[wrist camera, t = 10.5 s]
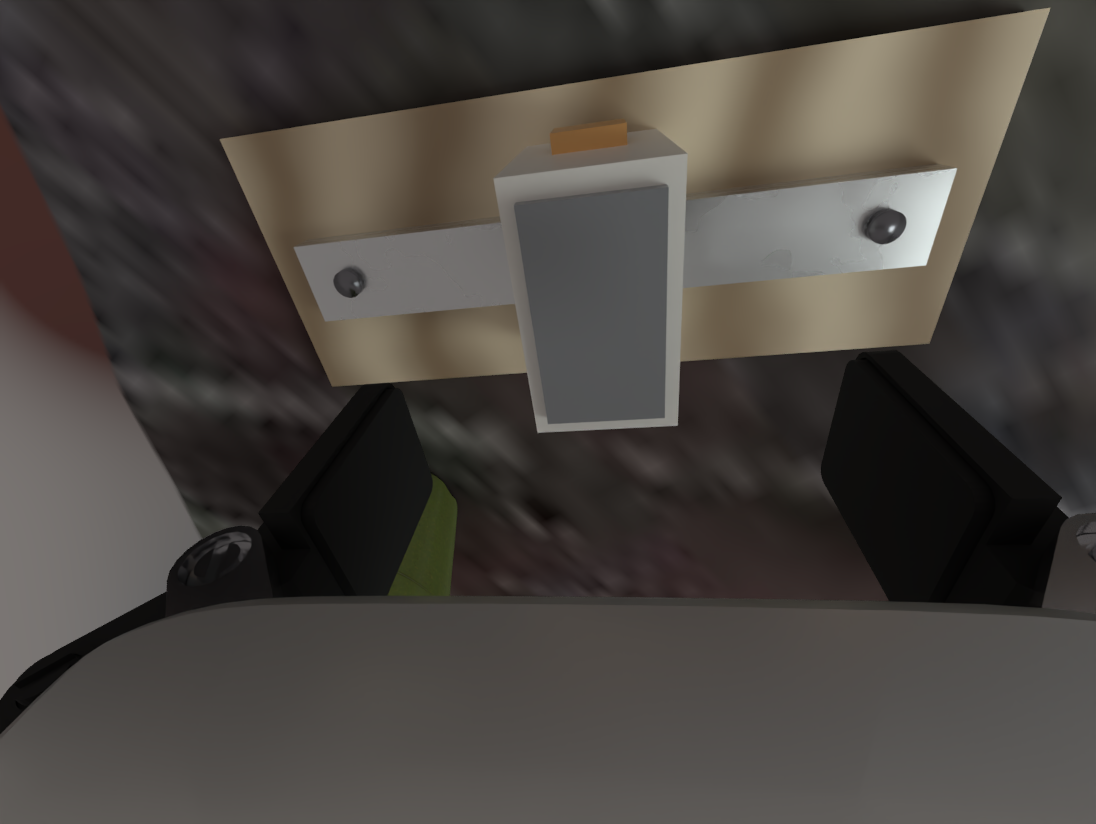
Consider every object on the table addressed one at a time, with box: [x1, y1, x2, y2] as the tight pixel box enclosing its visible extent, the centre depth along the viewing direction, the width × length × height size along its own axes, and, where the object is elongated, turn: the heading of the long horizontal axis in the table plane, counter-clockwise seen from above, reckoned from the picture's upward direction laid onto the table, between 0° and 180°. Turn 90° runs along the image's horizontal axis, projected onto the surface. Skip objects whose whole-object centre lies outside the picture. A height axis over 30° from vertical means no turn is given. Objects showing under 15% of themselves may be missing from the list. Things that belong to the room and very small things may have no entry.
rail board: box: [220, 8, 1050, 387], centre depth 21 cm, size 30×12×1 cm, turn 97°
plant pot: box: [387, 474, 457, 596], centre depth 28 cm, size 12×12×11 cm
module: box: [493, 119, 688, 433], centre depth 17 cm, size 5×9×8 cm, turn 7°
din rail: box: [294, 163, 957, 322], centre depth 20 cm, size 26×4×2 cm, turn 97°
